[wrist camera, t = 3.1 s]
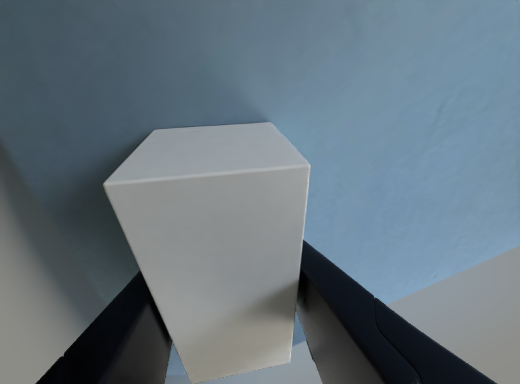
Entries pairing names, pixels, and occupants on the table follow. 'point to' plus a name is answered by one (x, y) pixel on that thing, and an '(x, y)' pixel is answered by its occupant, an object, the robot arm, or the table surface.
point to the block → (218, 240)
